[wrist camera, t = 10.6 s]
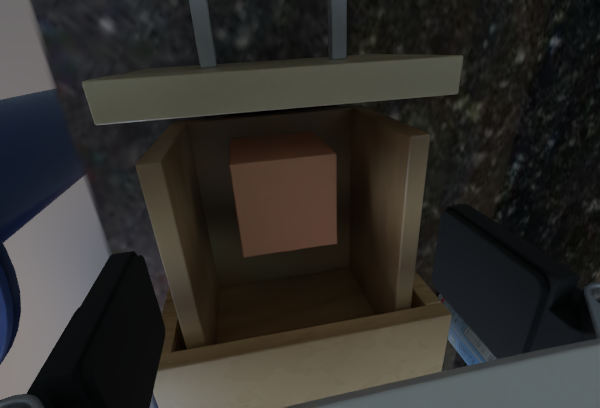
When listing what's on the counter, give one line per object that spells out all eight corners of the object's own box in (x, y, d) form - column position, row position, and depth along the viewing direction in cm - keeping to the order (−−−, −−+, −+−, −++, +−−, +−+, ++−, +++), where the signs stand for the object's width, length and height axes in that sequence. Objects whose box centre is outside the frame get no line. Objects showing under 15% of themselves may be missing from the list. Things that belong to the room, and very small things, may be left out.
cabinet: (180, 241, 21) (145, 373, 12) (369, 215, 23) (452, 314, 14) (217, 393, 27) (211, 550, 19) (363, 363, 29) (418, 494, 20)
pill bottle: (485, 323, 30) (614, 461, 20) (423, 330, 29) (526, 480, 19) (505, 267, 27) (665, 392, 17) (438, 272, 26) (567, 410, 16)
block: (241, 215, 19) (243, 258, 15) (229, 138, 17) (228, 165, 13) (316, 205, 19) (337, 244, 15) (313, 130, 18) (337, 153, 14)
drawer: (122, -38, 14) (14, -126, 7) (375, -43, 16) (489, -119, 9) (198, 290, 22) (183, 403, 15) (364, 264, 23) (421, 354, 16)
